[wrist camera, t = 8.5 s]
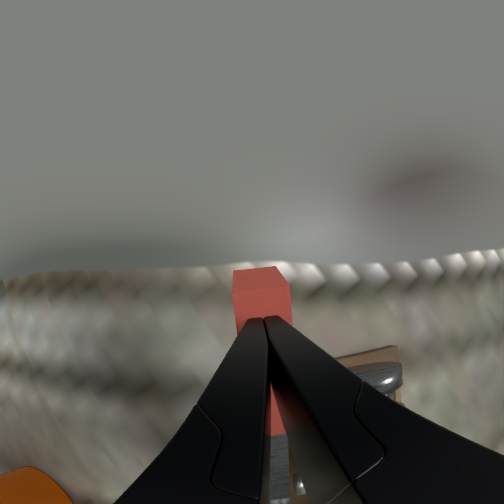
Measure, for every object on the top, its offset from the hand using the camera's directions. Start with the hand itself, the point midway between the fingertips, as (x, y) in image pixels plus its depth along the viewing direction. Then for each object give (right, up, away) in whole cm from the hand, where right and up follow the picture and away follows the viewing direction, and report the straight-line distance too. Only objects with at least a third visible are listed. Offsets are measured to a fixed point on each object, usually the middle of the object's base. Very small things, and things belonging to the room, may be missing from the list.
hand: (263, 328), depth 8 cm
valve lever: (+1, -11, +4) cm, 12 cm away
